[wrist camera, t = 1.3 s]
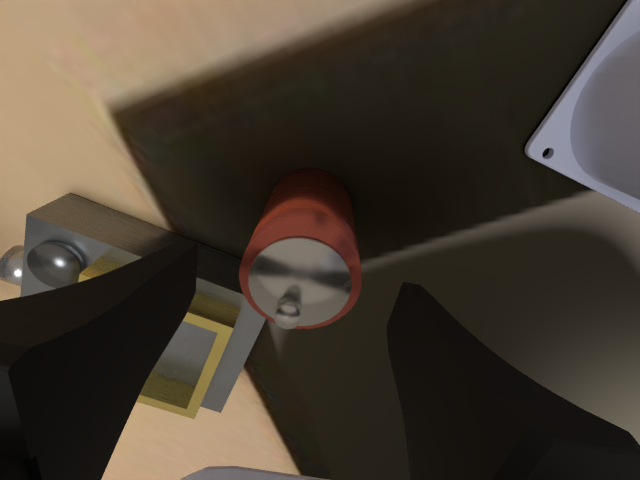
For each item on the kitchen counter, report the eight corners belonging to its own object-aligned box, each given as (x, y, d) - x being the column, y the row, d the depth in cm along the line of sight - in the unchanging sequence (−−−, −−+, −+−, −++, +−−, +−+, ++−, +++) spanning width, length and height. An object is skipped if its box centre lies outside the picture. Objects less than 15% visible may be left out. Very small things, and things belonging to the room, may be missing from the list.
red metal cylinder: (366, 189, 18) (388, 270, 11) (330, 256, 20) (330, 362, 13) (287, 154, 18) (257, 216, 11) (257, 227, 20) (215, 322, 12)
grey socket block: (279, 274, 21) (267, 324, 17) (232, 374, 25) (213, 435, 21) (38, 180, 19) (-42, 213, 15) (27, 306, 22) (-40, 359, 18)
